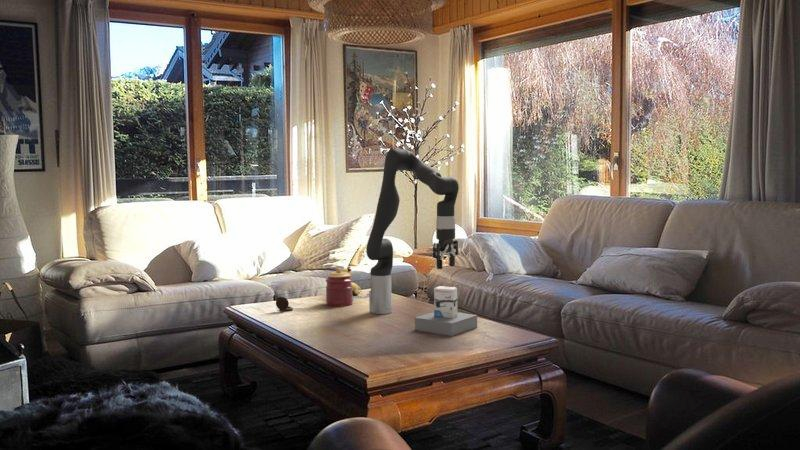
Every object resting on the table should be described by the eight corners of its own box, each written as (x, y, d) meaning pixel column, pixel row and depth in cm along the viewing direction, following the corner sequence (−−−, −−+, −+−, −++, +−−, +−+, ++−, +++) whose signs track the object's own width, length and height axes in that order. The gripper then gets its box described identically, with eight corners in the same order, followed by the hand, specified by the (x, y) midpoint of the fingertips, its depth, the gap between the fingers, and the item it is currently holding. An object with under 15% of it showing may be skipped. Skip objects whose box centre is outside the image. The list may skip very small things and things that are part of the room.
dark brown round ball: (295, 309, 325) (294, 294, 324) (287, 312, 317) (287, 297, 317) (279, 308, 327) (278, 293, 326) (271, 312, 319) (271, 296, 319)
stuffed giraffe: (332, 294, 363) (333, 264, 361) (366, 293, 368) (366, 263, 367) (339, 300, 347) (340, 269, 346) (374, 299, 353) (375, 268, 351)
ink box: (433, 316, 281) (433, 287, 280) (438, 314, 285) (438, 285, 284) (453, 318, 277) (453, 289, 276) (457, 316, 281) (457, 287, 280)
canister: (351, 306, 329) (351, 269, 327) (324, 307, 329) (323, 270, 327) (354, 301, 342) (353, 265, 340) (327, 301, 342) (326, 266, 340)
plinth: (415, 329, 280) (414, 317, 280) (441, 321, 294) (440, 309, 294) (452, 336, 269) (451, 323, 269) (477, 327, 283) (477, 315, 282)
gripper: (448, 225, 286) (448, 264, 287) (427, 228, 275) (427, 268, 276) (463, 226, 281) (463, 266, 283) (443, 229, 270) (443, 270, 272)
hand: (445, 267), depth 279 cm, fingers open, 8 cm apart
